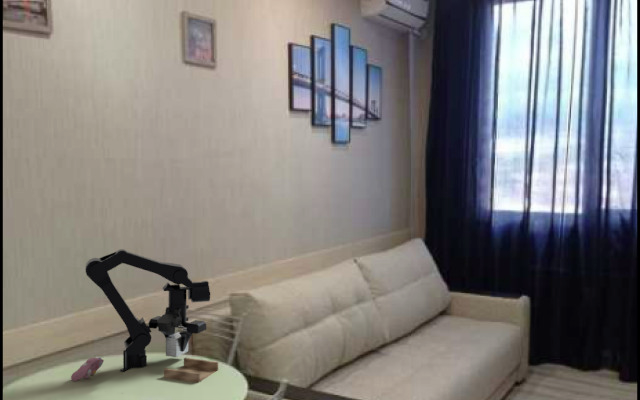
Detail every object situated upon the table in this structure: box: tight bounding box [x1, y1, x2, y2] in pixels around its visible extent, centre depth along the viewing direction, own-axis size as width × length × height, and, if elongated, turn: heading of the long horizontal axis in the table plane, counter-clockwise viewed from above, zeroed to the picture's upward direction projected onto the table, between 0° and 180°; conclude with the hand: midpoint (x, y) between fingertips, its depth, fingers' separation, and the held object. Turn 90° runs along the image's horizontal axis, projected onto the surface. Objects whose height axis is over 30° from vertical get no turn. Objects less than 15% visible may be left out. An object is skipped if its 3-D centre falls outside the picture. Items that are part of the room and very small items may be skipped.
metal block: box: [165, 331, 189, 358], centre depth 188 cm, size 4×7×6 cm, turn 161°
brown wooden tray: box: [163, 357, 219, 383], centre depth 176 cm, size 12×12×4 cm
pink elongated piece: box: [70, 356, 105, 382], centre depth 177 cm, size 10×5×7 cm, turn 169°
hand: (177, 350), depth 188 cm, fingers closed on metal block, 4 cm apart
